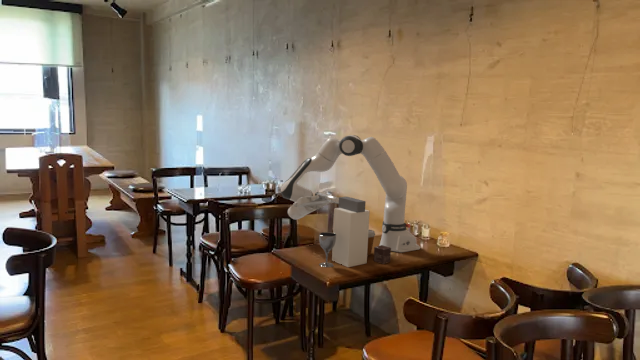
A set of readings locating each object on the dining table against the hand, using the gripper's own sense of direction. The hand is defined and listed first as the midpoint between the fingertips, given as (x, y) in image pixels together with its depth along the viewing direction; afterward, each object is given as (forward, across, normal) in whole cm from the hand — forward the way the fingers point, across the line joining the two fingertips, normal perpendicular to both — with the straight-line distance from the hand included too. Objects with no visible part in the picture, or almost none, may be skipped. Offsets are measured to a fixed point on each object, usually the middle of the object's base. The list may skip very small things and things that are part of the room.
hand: (322, 195), depth 256 cm
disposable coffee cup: (0, +16, +34) cm, 37 cm away
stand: (+6, 0, +37) cm, 37 cm away
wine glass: (+4, -13, +36) cm, 38 cm away
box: (+12, +14, +41) cm, 45 cm away
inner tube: (+5, 0, +5) cm, 8 cm away
